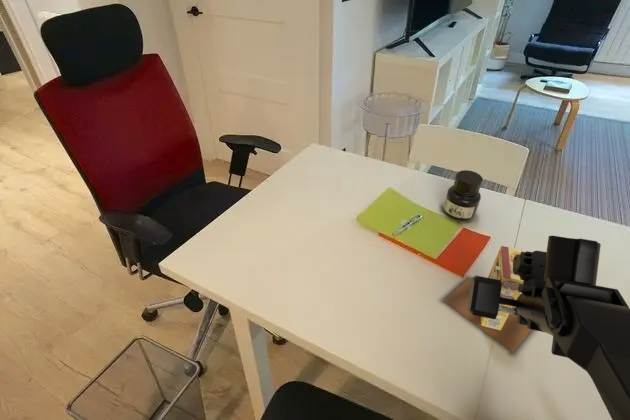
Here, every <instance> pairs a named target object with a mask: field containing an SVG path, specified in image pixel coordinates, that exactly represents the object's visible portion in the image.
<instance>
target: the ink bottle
mask: <svg viewBox="0 0 630 420" xmlns="http://www.w3.org/2000/svg"><path fill="white" fill-rule="evenodd" d="M483 180H484V179H483V176H482V175H481V174H479V173H478V172H476V171H472V170H468V169H464V170H463V169H462V170H460V171H458V172H457V173H456V174H455V177H454V181H453V185H451V186H450V187H449V188H448V189H447V192H446V195H445V198H444V200H443V206H442V211H443V212H444V213H445V215H446V216H448V217H449V218H451V219H454V220H456V221H461V222H465V221H466V222H467V221H470V220H473V218H475V216H476V215H477V210H478V208H479V205H480V203H481V202H480V201H481V198H482V195H481V193H480V190H481V187H482V185H483Z"/></svg>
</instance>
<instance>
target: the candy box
mask: <svg viewBox="0 0 630 420" xmlns="http://www.w3.org/2000/svg"><path fill="white" fill-rule="evenodd" d="M521 252H523V250H522V249H518V248H515V247H514V248H513V247H509V246H503V245H500V247H499V250H498V252H497V255H496V257H495V260H494V262H493V265H492V267H491V270H490V272H489V274H488V276H487V278H491V279H497V280H501V285H502V288H501V295H500V297H504V298H509V299H514V300H517V298H518V296H519V295H520V294H521V292H518V288H519V283H520V284H523V280H520V276H519V275H515V274H514V273H513V259H514V257H515V256H516V255H517V254H518V255H520V254H521ZM499 305H500V306H501V305H503V306H505V307H506V306H508V308H509V307H511V308H512V307H514V306H509V305H504V304H499ZM509 314H510V313H505V312H500V311H498V315H497V317H496V319H490V318H486V317H481V326H485V327H488V328H492V329H496V330H500V331H501V329H502V327H503V325H504V323H505V321H506V320H507V318H508V316H509Z"/></svg>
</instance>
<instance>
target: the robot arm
mask: <svg viewBox="0 0 630 420" xmlns="http://www.w3.org/2000/svg"><path fill="white" fill-rule="evenodd" d="M601 246H602V244H601V243H600V242H598V241H597V240H593V239H592V240H591V239H586V238H574V237H573V238H572V237H564V236H558V235H548V238H547V245H546V251H543V250H534V251H522V252H521V254H520V255H518V254H517V255H516V256H515V257H514V259H513V273H514V274H515V275H519V276H520V280H523V284H520V283H519V288H518V292H520V294H519V296H518V298H517V300H514V299H509V298H504V297H500V295H501V288H502V285H501V280H497V279H491V278H488V277H487V276H480V275H473V277H471V279H472V280H471V287H470V294H469V300H468V307H467V309H468V311H469V312H470V313H471V314H472V315H476V316H481V317H486V318H490V319H496V317H497V315H498V311H500V312H505V313H510V314H514V315H518V320H517V323H519V324H522V325H527V328H529V329H532V330H531V331H537V332H542V333H546V334H548V335H550V336H552V343H551V349H550V350H551V351H550V352H551V354H552V355H554V356H558V357H561V358H562V357H563V358H567V359H569V360H570V361H571V362H573V363H574V364H576V365H577V366H578V367H580V368H581V369H583V370H584V371H585V372H586V373H587V374H588V375H589V377H590V378H591V380H592V382H593V384H594V386H595V389H596V391H597V392H598V394H599V396H600V399H601V400H602V402H603V404H604V406H605V408H606V410H607V412H608V414H609V416H610V418H611V420H630V306H629V305H628V304H627V302H626V300H625V299H624V297H623V295H622V294H621V292H620V290H618V289H617V288H614V287H613V288H612V287H606V286H602V285H597V280H598V279H597V278H598V271H599V262H600V255H601V248H602V247H601ZM499 304H504V305H509V306H513V307H514V309H513V307H512V308H511V307H509V308H508V306H506V307H505V306H503V305H501V306H500V305H499Z"/></svg>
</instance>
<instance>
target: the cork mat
mask: <svg viewBox="0 0 630 420" xmlns="http://www.w3.org/2000/svg"><path fill="white" fill-rule="evenodd" d="M471 280H472V277H468V278H467V279H466V280H465V281H464V282H463V283H462V284H461V285H460V286H459V287H457V288H456V289H455V290H454V291H453V292H452V293H451V294H450V295H448V296H447V297H446V298H444V300H443V301H444V302H445V303H446V304H447V305H449V306H450V307H452V308H453V309H454V310H456V311H457V312H458V313H460V314H461V315H462V316H463V317H465V318H466V319H467V320H469V321H470V322H472V323H473V324H474V325H476V326H477V327H478V328H480V329H481V330H482V331H484V332H485V333H487V335H489V336H491V337H492V338H493V339H495V340H496V341H498V342H499V343H500V344H501V345H503V346H504V347H505V348H507V349H508V350H510V351H511V352H512V353H514V351H515V350H516V349H517V348H518V347H519V345H521V343H523V340H525V339H526V337H527V336H529V334H530V333H531V331H533V330H532V329H529V328H527V325H522V324H519V323H517V320H518V315H514V314H509V316H508V318H507V320H506V321H505V323H504V325H503V327H502V329H501V331H500V330H496V329H492V328H488V327H485V326H481V316H476V315H472V314H471V313H470V312H469V311H468V309H467V307H468V300H469V294H470V287H471ZM514 308H515V307H514V306H513V309H514Z"/></svg>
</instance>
